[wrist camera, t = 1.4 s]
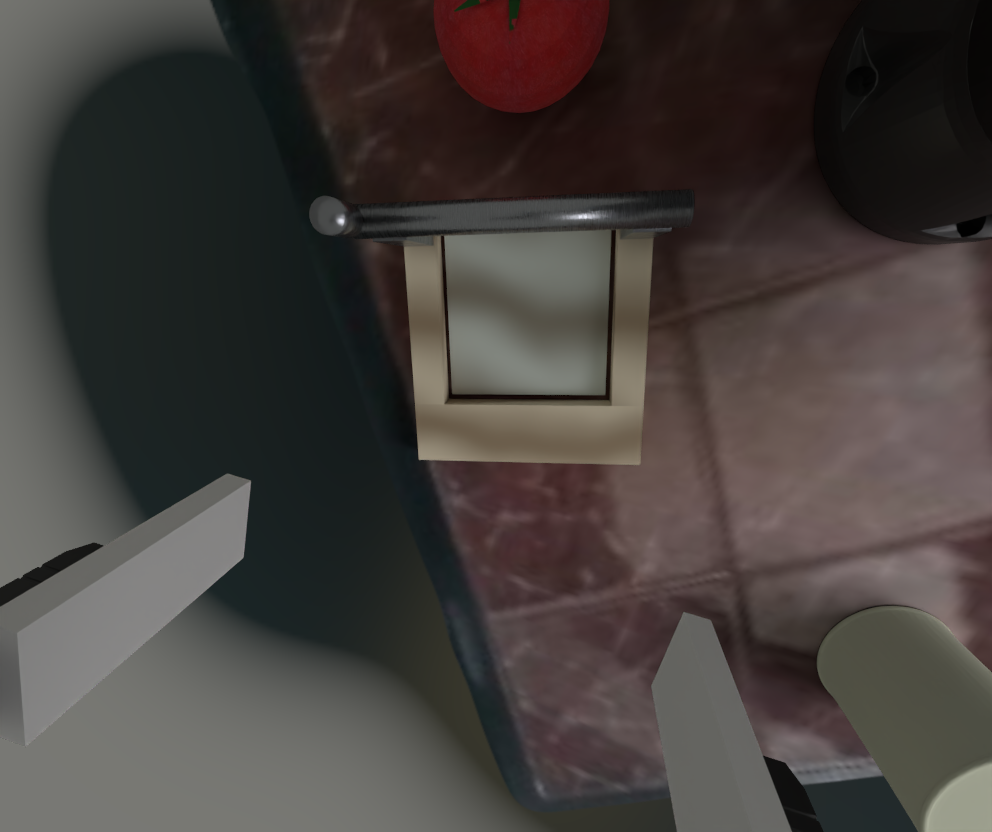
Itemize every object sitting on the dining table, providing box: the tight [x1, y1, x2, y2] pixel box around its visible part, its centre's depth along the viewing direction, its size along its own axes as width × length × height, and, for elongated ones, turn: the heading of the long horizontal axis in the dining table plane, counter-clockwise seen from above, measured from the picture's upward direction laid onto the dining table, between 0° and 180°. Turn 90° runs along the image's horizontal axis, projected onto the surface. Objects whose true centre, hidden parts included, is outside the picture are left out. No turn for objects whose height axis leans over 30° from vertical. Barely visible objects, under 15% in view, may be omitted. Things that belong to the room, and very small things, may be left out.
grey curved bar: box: [309, 189, 694, 247], centre depth 26 cm, size 2×17×9 cm, turn 91°
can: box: [817, 606, 992, 832], centre depth 31 cm, size 9×9×12 cm
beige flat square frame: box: [404, 230, 653, 465], centre depth 33 cm, size 16×15×2 cm
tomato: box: [434, 0, 609, 113], centre depth 25 cm, size 9×9×8 cm
